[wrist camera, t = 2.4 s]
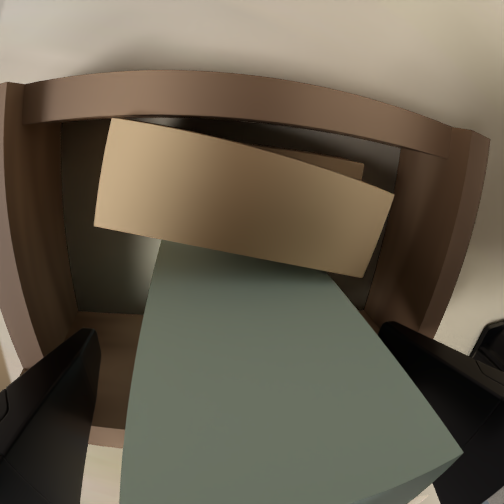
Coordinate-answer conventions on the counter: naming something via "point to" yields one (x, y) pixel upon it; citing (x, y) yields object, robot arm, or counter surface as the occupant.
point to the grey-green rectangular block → (269, 393)
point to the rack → (235, 109)
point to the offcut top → (236, 199)
